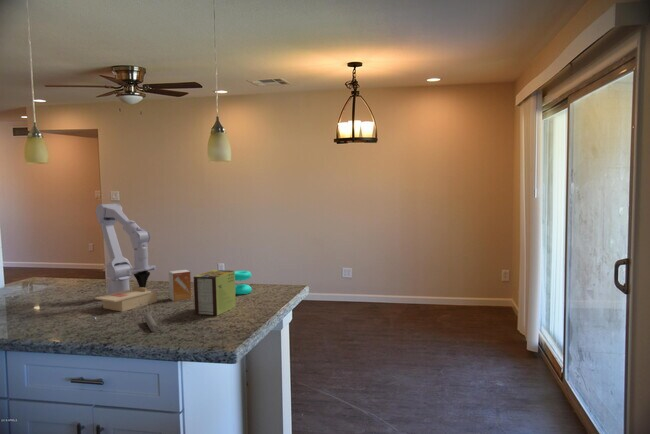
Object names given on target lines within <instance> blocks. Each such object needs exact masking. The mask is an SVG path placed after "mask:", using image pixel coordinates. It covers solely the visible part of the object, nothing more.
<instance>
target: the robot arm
mask: <svg viewBox="0 0 650 434" xmlns="http://www.w3.org/2000/svg"><path fill="white" fill-rule="evenodd" d="M95 208H96V209H95V215H96V219H97V222H98V224H99V225H100V227H101V231H102V235H103V238H104V241H105V245H106V247H107V252H108V254H109V258H110V260H109V261H108V263H107V264H106V268H107V269H106V270H107V271H106V272H107V277H108V279H110V280H108V282H107V295H108V294H112V293H116V292H120V291H125V290H129V289H130V279H131V277H132V276H133V277H134V278H135V280H136V281H137V284H138V287H144V288H147V287H146V285H147V282H148V280H149V277H150V275H151V271H156V270H157V265H155V264H154V265H153V264H152V265H149V249H148V247H149V246H148V243H149V242H150V240H151V234H150V232H149V231H148V229H144V228H141V227H140V226H139V225H138V224H137V223H136V221H135V220H130V219H129V217H127V215H126V214H125V213H124V212H123V206H122V205H121V204H120V203H118V202H117V203H104V204H103V203H100V204H97V206H96V207H95ZM115 223H119V224H121V225H122V229H123V231H124V232H125V233H126V234H127V235H128V236H129V237H130V238H129V239H130V242H131V246H132V249H133V261H134V262H133V264H134V268H133V266H132V264H131V263H130V261H129V259H127V258H126V257H124V256H123V253H122V249H121V247H120V244H119V240H118V235H117V232H116V230H115V226H114V225H115Z"/></svg>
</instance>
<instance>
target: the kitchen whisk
mask: <svg viewBox="0 0 650 434" xmlns="http://www.w3.org/2000/svg"><path fill="white" fill-rule="evenodd" d="M144 300H145V299H144ZM145 301H146V300H145ZM139 302H140V301H139ZM142 302H143V301H142ZM146 303H148V302H146ZM141 304H142V303H140V305H139V306H140V307H138V306H137V307H136V308H134V310H133V311H134V313H136V310H137V311H138V312H140V309H141V308H142V309H144V307H146V309H148V310H150V312H146V311H144V312H145V314H144V313H142V316H141V315H140V314H138V313H136V315H138V316H141V317H142V318H143V319H144V321H145V322H146V325H147V326H148V328H149V330H150V332H152V333H156V334H157V332H158V330H159V326H158V325H157V323H156V321H155V319H154V318H153V316H152V310H151V307H150V308H149V306H148V305H143V306H142V305H141ZM143 304H144V303H143ZM149 305H150V306H152V303H151V304H149ZM134 306H135V304H134ZM138 308H139V309H138Z"/></svg>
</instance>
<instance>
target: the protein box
mask: <svg viewBox="0 0 650 434" xmlns="http://www.w3.org/2000/svg"><path fill="white" fill-rule="evenodd" d="M235 271H236V270H230V269H229V270H225V269H224V270H223V269H212V270H209V271H205V272H202V273H199V274H196V275H194V276H193V293H194V314H195V315H201V316H203V315H204V316H213V317H214V316H216V317H217V316H219V315H222V314H224V313H225V312H228V311H230V310H232V309H235V308H236V306H237V305H236V304H237V303H236V295H235V285H236V280H235Z"/></svg>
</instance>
